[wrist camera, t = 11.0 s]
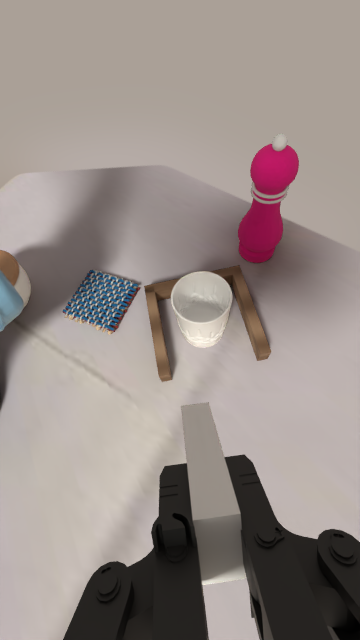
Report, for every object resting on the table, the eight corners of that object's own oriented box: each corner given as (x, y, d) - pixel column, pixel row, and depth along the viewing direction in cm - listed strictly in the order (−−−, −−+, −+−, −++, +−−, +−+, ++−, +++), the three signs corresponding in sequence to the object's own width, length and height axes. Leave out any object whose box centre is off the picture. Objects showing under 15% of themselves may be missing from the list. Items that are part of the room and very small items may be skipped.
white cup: (188, 301, 47) (183, 265, 38) (233, 314, 45) (239, 278, 36) (171, 343, 44) (161, 313, 35) (219, 358, 42) (221, 331, 33)
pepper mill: (247, 229, 53) (267, 112, 35) (283, 243, 50) (323, 126, 32) (228, 255, 50) (238, 144, 32) (265, 271, 48) (297, 161, 30)
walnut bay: (267, 358, 41) (271, 351, 38) (162, 381, 41) (158, 376, 38) (237, 275, 48) (239, 265, 45) (147, 295, 48) (144, 285, 45)
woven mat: (93, 272, 52) (89, 265, 50) (142, 288, 50) (140, 281, 48) (62, 318, 48) (57, 312, 46) (114, 338, 46) (110, 333, 44)
